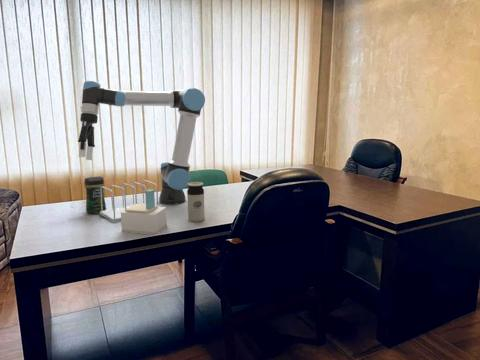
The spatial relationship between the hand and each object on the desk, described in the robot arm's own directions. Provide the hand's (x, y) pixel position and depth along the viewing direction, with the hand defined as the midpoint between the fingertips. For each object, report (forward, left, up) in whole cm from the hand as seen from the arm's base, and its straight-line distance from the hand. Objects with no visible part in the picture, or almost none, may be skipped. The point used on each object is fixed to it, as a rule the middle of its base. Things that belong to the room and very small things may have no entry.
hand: (85, 158), depth 178 cm
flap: (-10, +30, -21) cm, 38 cm away
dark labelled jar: (-36, +37, -30) cm, 60 cm away
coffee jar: (-9, -12, -30) cm, 34 cm away
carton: (-11, +31, -30) cm, 45 cm away
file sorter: (-18, +5, -31) cm, 36 cm away
